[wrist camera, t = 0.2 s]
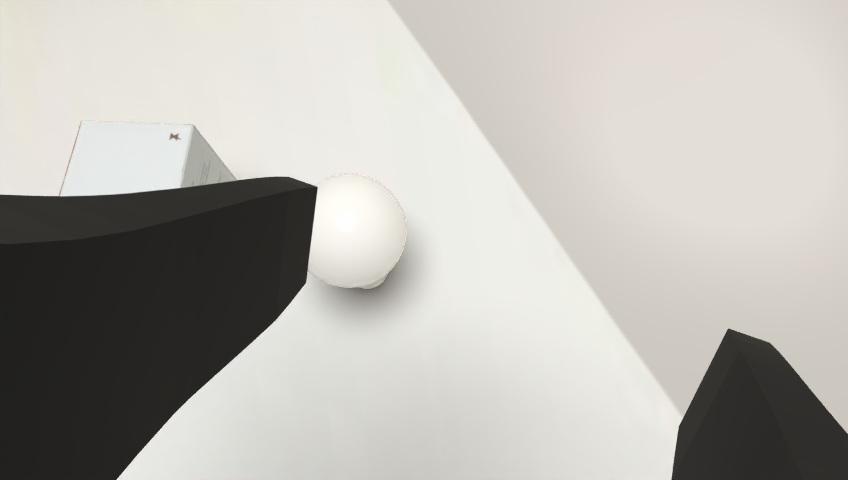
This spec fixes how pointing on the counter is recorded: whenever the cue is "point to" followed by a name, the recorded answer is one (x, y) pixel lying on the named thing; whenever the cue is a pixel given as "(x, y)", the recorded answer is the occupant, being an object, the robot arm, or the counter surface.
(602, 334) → the counter surface
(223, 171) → the small box
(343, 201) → the lightbulb
